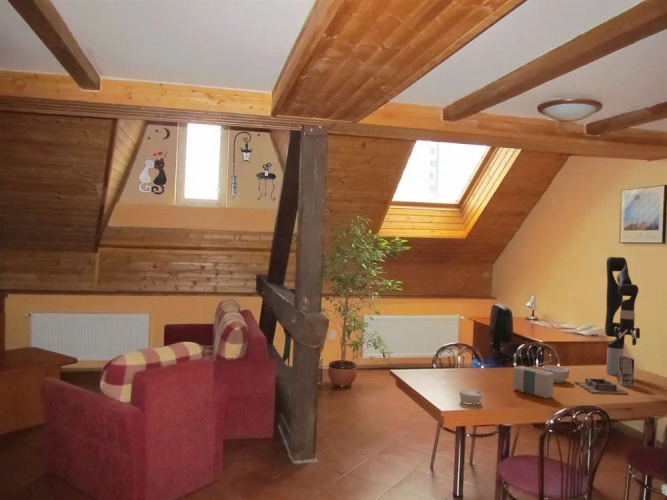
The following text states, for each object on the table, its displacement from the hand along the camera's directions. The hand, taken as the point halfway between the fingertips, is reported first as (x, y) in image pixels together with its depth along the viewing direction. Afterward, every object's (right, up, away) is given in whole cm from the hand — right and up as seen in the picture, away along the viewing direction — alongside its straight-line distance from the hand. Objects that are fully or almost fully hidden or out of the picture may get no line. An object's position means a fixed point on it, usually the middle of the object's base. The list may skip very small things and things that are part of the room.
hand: (626, 345), depth 318 cm
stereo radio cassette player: (-65, -23, -25) cm, 73 cm away
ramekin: (-104, -22, -45) cm, 115 cm away
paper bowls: (-41, -23, +5) cm, 47 cm away
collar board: (-21, -23, -11) cm, 33 cm away
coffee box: (-1, -24, 0) cm, 24 cm away
